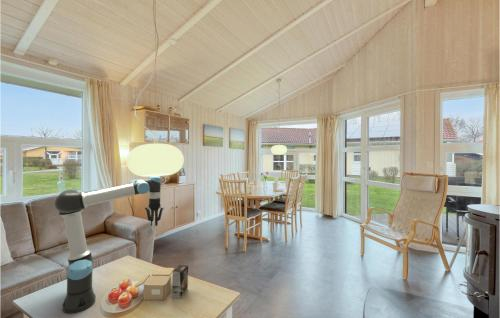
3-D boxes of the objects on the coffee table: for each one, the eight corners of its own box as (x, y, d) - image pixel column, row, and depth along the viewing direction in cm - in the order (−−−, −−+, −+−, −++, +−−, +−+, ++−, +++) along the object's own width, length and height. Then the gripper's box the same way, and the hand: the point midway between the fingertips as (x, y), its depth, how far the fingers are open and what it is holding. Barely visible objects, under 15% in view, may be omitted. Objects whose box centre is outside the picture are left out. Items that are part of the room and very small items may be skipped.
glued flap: (143, 283, 136) (129, 290, 136) (150, 275, 146) (137, 281, 146) (142, 282, 136) (129, 289, 136) (149, 274, 146) (136, 280, 146)
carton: (143, 300, 135) (143, 284, 135) (156, 281, 156) (157, 267, 156) (164, 300, 135) (164, 284, 135) (175, 281, 156) (175, 268, 156)
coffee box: (181, 299, 137) (181, 272, 137) (171, 297, 139) (172, 271, 139) (188, 290, 146) (188, 265, 146) (179, 289, 148) (179, 264, 148)
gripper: (143, 198, 160) (142, 231, 160) (162, 198, 160) (161, 232, 160) (147, 196, 168) (147, 228, 168) (166, 197, 168) (165, 228, 168)
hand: (154, 230), depth 164 cm, fingers closed
